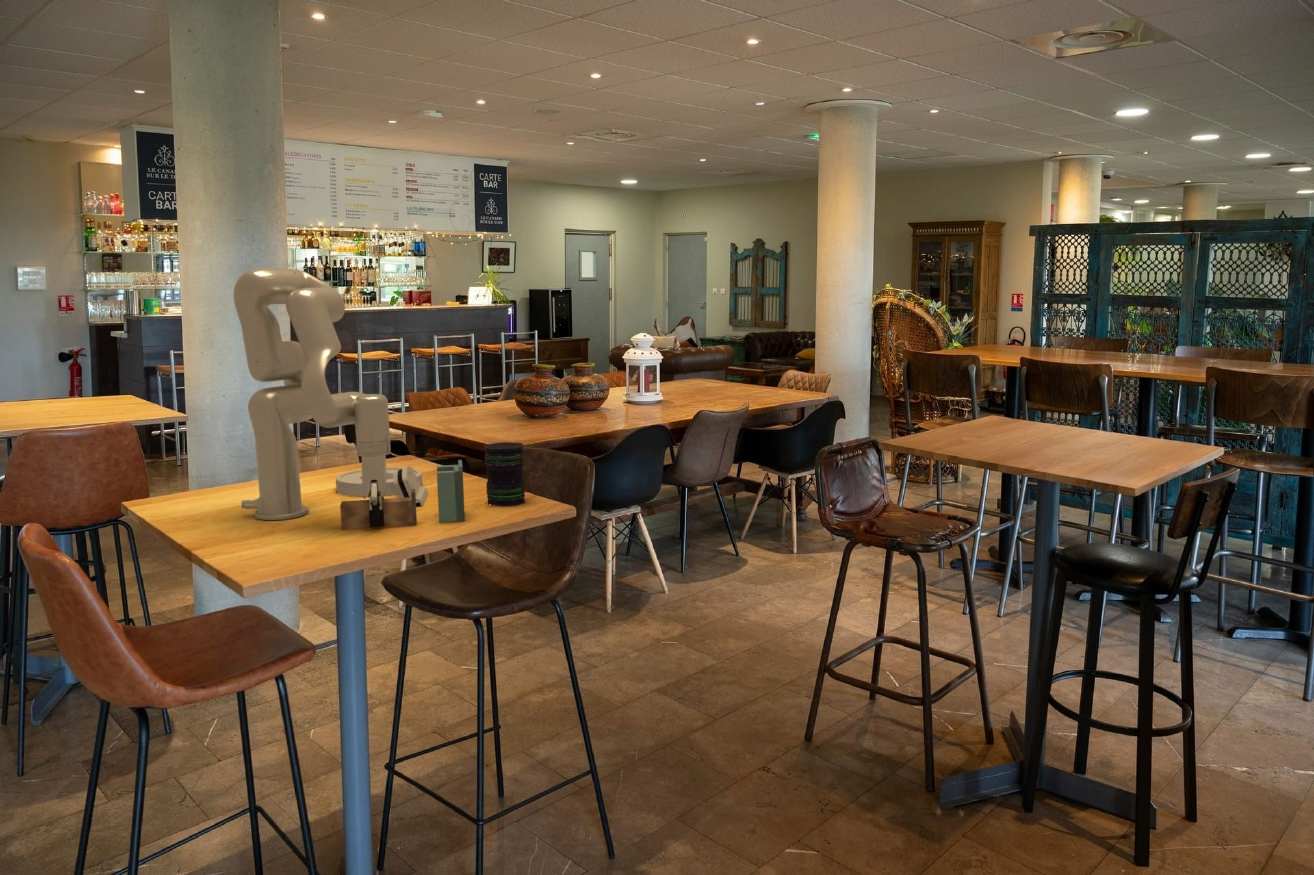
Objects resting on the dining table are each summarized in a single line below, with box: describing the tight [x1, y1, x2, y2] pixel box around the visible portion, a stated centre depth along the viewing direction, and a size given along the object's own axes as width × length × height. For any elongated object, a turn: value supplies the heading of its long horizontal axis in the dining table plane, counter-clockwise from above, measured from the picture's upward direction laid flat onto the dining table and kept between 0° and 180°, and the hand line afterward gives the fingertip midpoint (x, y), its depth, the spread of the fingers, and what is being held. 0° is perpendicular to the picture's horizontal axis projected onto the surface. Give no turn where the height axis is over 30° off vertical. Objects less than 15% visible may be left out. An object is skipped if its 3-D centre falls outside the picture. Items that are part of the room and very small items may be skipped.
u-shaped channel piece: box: [436, 459, 466, 524], centre depth 235 cm, size 6×10×13 cm, turn 13°
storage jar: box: [484, 442, 526, 507], centre depth 250 cm, size 10×10×15 cm
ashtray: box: [335, 466, 424, 498], centre depth 271 cm, size 23×23×4 cm
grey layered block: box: [393, 465, 429, 508], centre depth 255 cm, size 17×5×10 cm, turn 9°
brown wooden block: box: [339, 489, 418, 531], centre depth 228 cm, size 17×4×8 cm, turn 103°
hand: (377, 522), depth 228 cm, fingers open, 6 cm apart
